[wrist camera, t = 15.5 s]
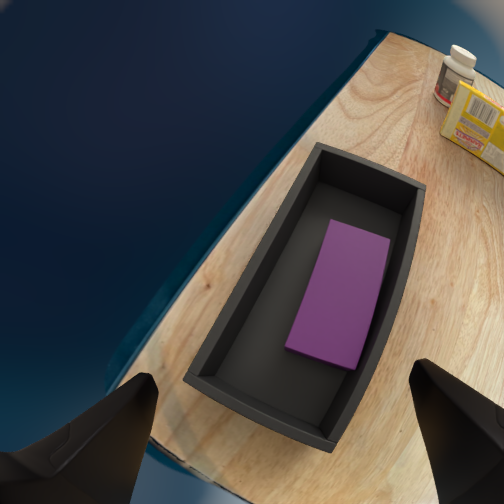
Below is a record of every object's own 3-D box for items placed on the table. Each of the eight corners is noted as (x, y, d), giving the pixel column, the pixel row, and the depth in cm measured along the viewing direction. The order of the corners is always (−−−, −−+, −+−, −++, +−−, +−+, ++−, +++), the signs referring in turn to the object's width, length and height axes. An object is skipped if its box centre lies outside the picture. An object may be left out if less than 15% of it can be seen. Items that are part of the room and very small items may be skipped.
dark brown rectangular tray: (321, 436, 15) (331, 454, 11) (203, 379, 18) (181, 380, 14) (407, 215, 21) (426, 185, 17) (313, 176, 24) (316, 141, 20)
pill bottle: (437, 87, 30) (450, 40, 21) (464, 104, 28) (481, 58, 19) (429, 97, 29) (445, 45, 20) (459, 116, 27) (480, 65, 18)
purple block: (344, 370, 17) (378, 256, 20) (355, 370, 14) (390, 239, 17) (283, 350, 18) (325, 238, 21) (283, 346, 15) (330, 218, 18)
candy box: (528, 188, 21) (557, 151, 13) (529, 198, 20) (560, 161, 13) (440, 126, 26) (459, 77, 19) (439, 134, 25) (460, 83, 18)
